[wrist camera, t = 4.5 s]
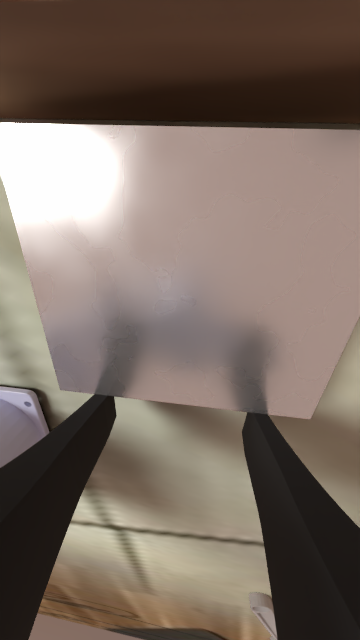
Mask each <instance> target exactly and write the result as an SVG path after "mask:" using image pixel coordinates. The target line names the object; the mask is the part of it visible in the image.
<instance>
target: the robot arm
mask: <svg viewBox="0 0 360 640" xmlns="http://www.w3.org/2000/svg"><path fill="white" fill-rule="evenodd" d="M115 418H116V409H115V400H114V396H107V395H99V394H94V395H93V396H92V397H91V398H90V399H89V400H88V401H87V402H86V403H84V404H83V405H82V406H81V407H80V408H79V409H78V410H76V411H75V412H74V413H73V414H72V415H71V416H69V417H68V418H67V419H66V420H65V421H63V422H62V423H61V424H60V425H59V426H57V427H56V428H55V429H54V430H52V431H51V432H49V430H48V427H47V424H46V421H45V418H44V415H43V412H42V409H41V407H40V404H39V401H38V398H37V395H36V393H35V392H33V391H32V390H27V389H19V388H10V387H2V386H0V640H28V639H29V636H30V633H31V630H32V627H33V624H34V621H35V618H36V615H37V612H38V610H39V607H40V604H41V601H42V598H43V595H44V592H45V589H46V586H47V584H48V581H49V578H50V575H51V572H52V570H53V567H54V564H55V561H56V558H57V556H58V553H59V550H60V548H61V545H62V542H63V540H64V537H65V534H66V532H67V529H68V527H69V524H70V521H71V519H72V516H73V514H74V511H75V509H76V506H77V504H78V501H79V499H80V496H81V494H82V492H83V489H84V487H85V485H86V483H87V481H88V479H89V477H90V475H91V473H92V470H93V468H94V466H95V464H96V462H97V460H98V458H99V456H100V454H101V452H102V450H103V448H104V446H105V444H106V442H107V439H108V437H109V435H110V432H111V430H112V427H113V424H114V421H115ZM242 436H243V444H244V451H245V457H246V461H247V466H248V470H249V474H250V478H251V483H252V487H253V491H254V495H255V500H256V504H257V508H258V513H259V518H260V523H261V528H262V534H263V541H264V547H265V553H266V560H267V567H268V574H269V580H270V587H271V594H272V602H273V609H274V617H275V625H276V632H277V640H360V528H359V527H358V526H357V525H356V524H355V523H354V522H353V521H352V520H351V519H350V517H349V516H348V515H347V514H346V513H345V512H344V511H343V510H342V509H341V508H340V507H339V505H338V504H337V503H336V502H335V501H334V500H333V499H332V498H331V496H330V495H329V494H328V493H327V492H326V491H325V490H324V488H323V487H322V486H321V485H320V484H319V482H318V481H317V480H316V479H315V478H314V476H313V475H312V474H311V473H310V472H309V470H308V469H307V468H306V467H305V465H304V464H303V463H302V461H301V460H300V459H299V458H298V456H297V455H296V454H295V452H294V451H293V450H292V448H291V447H290V446H289V444H288V443H287V442H286V440H285V439H284V437H283V436H282V435H281V433H280V432H279V430H278V429H277V428H276V426H275V425H274V423H273V422H272V420H271V419H270V417H269V416H268V415H267V414H260V413H252V412H247V416H246V420H245V423H244V427H243V430H242Z"/></svg>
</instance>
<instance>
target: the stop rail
mask: <svg viewBox="0 0 360 640" xmlns="http://www.w3.org/2000/svg"><path fill="white" fill-rule="evenodd" d="M0 118H19V119H89V120H158V121H228V122H297V123H360V0H0Z"/></svg>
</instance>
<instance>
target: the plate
mask: <svg viewBox="0 0 360 640" xmlns="http://www.w3.org/2000/svg"><path fill="white" fill-rule="evenodd" d="M0 171H1V174H2V178H3V182H4V185H5V189H6V193H7V196H8V200H9V204H10V207H11V211H12V215H13V218H14V222H15V226H16V229H17V233H18V237H19V240H20V244H21V248H22V251H23V255H24V259H25V262H26V266H27V270H28V273H29V277H30V281H31V284H32V288H33V292H34V295H35V299H36V303H37V306H38V310H39V314H40V317H41V321H42V325H43V328H44V332H45V336H46V339H47V343H48V347H49V350H50V354H51V358H52V361H53V365H54V369H55V372H56V376H57V380H58V383H59V387H60V390H65V391H73V392H82V393H90V394H99V395H107V396H116V397H124V398H133V399H141V400H150V401H158V402H167V403H175V404H184V405H192V406H201V407H209V408H218V409H226V410H235V411H243V412H252V413H260V414H268V415H277V416H285V417H294V418H302V419H311V417H312V415H313V413H314V411H315V409H316V406H317V404H318V402H319V400H320V398H321V396H322V394H323V392H324V390H325V388H326V386H327V384H328V381H329V379H330V377H331V375H332V373H333V371H334V369H335V367H336V365H337V363H338V361H339V359H340V356H341V354H342V352H343V350H344V348H345V346H346V344H347V342H348V340H349V338H350V336H351V334H352V331H353V329H354V327H355V325H356V323H357V321H358V319H359V317H360V130H337V129H287V128H236V127H186V126H136V125H86V124H35V123H0Z"/></svg>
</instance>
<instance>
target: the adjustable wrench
mask: <svg viewBox="0 0 360 640" xmlns="http://www.w3.org/2000/svg"><path fill="white" fill-rule="evenodd" d="M249 601H250V608H251V610H252V611H253V612H254V614H255V615H256V616H257V618H258V619H259V620H260V621H261V623H262V624H263V625H264V626H265V628H266V629H267V630H268V632H269V633H270V634H271V635H272V636H271V637H270V640H277V632H276V625H275V617H274V609H273V603H272V601H271V599H270V598H269V596H268V595H266V594H263V593H257V592H254V593H250V594H249Z"/></svg>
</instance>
